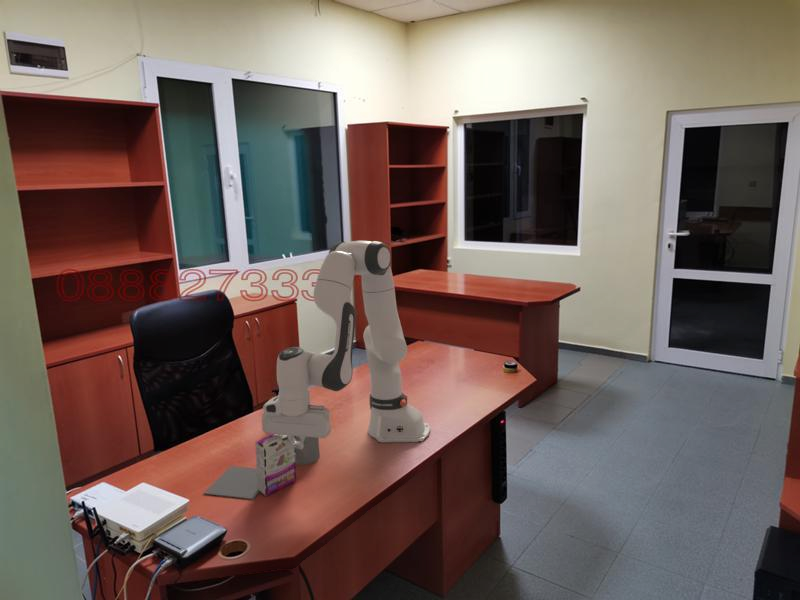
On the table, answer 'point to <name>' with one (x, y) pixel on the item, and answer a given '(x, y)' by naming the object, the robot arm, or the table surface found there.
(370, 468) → the table surface
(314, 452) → the coffee mug
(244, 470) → the mat
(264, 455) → the candy bar box
